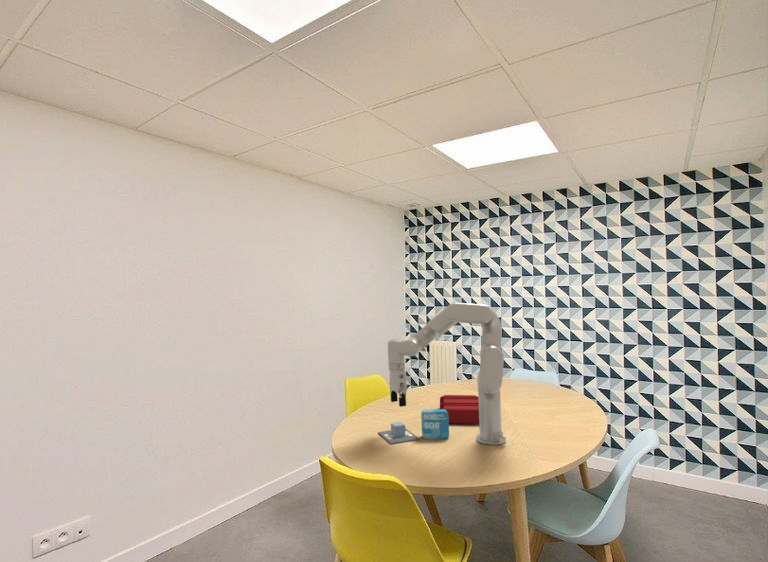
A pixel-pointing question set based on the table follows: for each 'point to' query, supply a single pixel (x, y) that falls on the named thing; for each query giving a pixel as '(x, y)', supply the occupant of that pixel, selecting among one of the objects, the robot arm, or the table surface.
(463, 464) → the table surface
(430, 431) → the data package
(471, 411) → the first aid kit
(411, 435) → the letter mat
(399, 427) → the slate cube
